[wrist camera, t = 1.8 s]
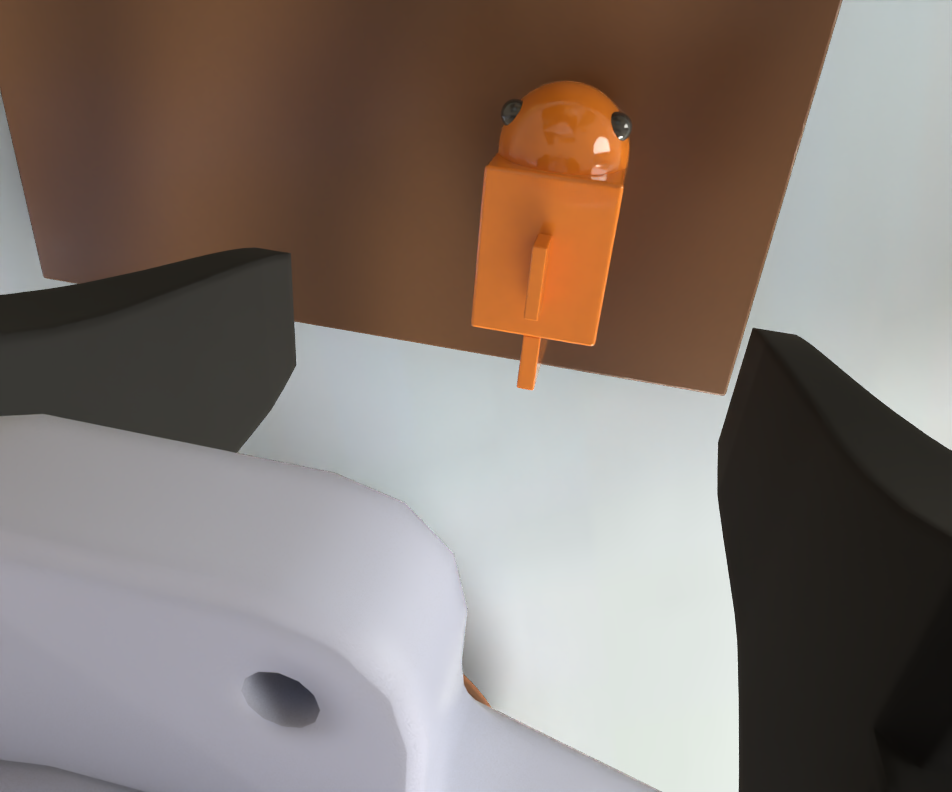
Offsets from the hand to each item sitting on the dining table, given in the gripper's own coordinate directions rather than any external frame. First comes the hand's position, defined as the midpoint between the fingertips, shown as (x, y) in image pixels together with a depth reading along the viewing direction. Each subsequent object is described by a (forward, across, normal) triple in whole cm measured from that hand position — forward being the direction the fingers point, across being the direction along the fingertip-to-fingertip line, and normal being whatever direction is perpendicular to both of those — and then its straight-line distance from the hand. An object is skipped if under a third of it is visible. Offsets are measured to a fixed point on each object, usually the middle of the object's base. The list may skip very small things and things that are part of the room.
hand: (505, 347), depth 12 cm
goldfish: (+8, 0, 0) cm, 8 cm away
